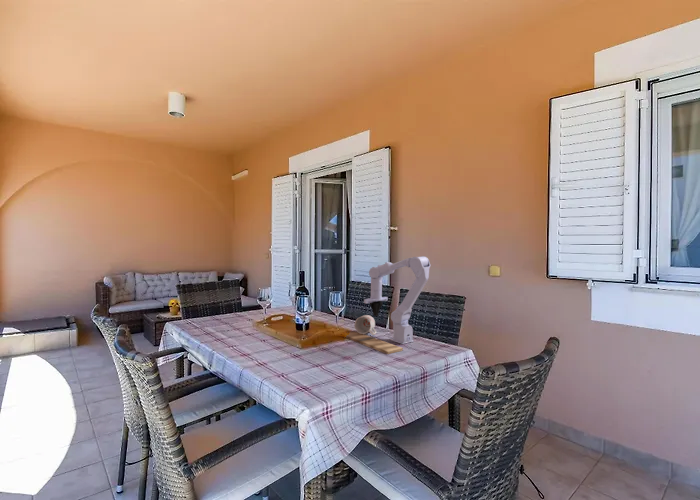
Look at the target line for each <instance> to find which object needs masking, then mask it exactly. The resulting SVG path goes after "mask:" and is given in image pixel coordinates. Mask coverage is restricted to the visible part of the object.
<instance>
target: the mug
mask: <svg viewBox="0 0 700 500" xmlns="http://www.w3.org/2000/svg"><path fill="white" fill-rule="evenodd" d="M375 327H376V321H375V318H374V317H372V315H370V314H369V315H368V314H364V315H361V316H359V317H358V318H356V319H355V322H354V329H355V331H356V332H358V333H360V334H364V335H367V333H370V334H371V335H372V337H374V336H375V335H376V333H378V332H377V330H376V329H375Z"/></svg>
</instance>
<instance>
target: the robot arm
mask: <svg viewBox="0 0 700 500" xmlns="http://www.w3.org/2000/svg"><path fill="white" fill-rule="evenodd" d="M431 266H432V265H431V263H430V260H429V258H428V257H427V256H425V255H421V256H412V257H407V258H404V259H402V260H400V261H397V262H394V263H392V262H389V261H386V262H384V264H378V265H377V266H372V267H371V268H370V269H369V270H368V275H369V277H370V297H369V298H364V299H363V303H364V304H366V305H367V304H369V305H370V308H371V310H372V315H373V316H374V317H378V316H379V313H380V310H381V308H382V306H383V302H387V301H388V299H389V298H388V297H389V296H382V292H383V278H384V277H385V276H388V275H391V274H394V273H395V270H399V269H402V268H406V267H407V268H410V269H411V271H412V273H413V274H414V275H415V280H414V281H413V283H412V285H411V286H410V288H409V290H408V291H407V293H406V295H405V297H404V298H403V300H402V302H401V303H400V304H399V305H398V306H397V307H396V308H395V310H394V311H392V312H391V314H390V319H391V322H392V324H393V325H392V327H393V328H392V329H393V330H392V331H393V332H392V333H393V334H392V335H393V336H392V337H391V338H389V340H390V341H392V342H395V343H398V344H401V345H405V344H408V343H413V342H414V340H413V338H414V337H413V336H414V335H413V333H414V329H413V327H412V325H410V324H409V320H410V318H411V313H412V311H413V309H412V308H413V306H414V304H415V303H416V301H417V299H418V298H419V296H420V295H421V292H422V291H423V290H424V288H425V286H426V285H427V282H429V277H430V268H431Z"/></svg>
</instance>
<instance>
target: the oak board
mask: <svg viewBox="0 0 700 500" xmlns="http://www.w3.org/2000/svg"><path fill="white" fill-rule="evenodd" d="M373 337H374V336H373ZM359 344H360V345H363V346H366V347H368V348H370V349H374V350H376V351H379V352H380V353H384V354H385V355H386V354H387V355H391V354H395V353H399V352H402V351H403V350H404V349H403V347H401V346H398V345H395V344H392V343H390V342H387V341H385V340H381V339H379V338H376V337H374V338H369V339H364V340H360V343H359Z"/></svg>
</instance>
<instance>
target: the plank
mask: <svg viewBox="0 0 700 500" xmlns="http://www.w3.org/2000/svg"><path fill="white" fill-rule="evenodd" d="M349 332H350V334H349V335H347V336H346V338H345V339H348V340H350V341H353V342H355V343H358V344H360V340H364V339H369V338H374V336H370V335H368V334H360V333H358V332H357V331H356V330H353V331H349Z"/></svg>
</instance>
